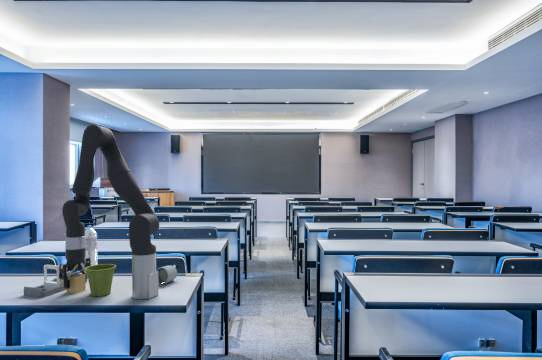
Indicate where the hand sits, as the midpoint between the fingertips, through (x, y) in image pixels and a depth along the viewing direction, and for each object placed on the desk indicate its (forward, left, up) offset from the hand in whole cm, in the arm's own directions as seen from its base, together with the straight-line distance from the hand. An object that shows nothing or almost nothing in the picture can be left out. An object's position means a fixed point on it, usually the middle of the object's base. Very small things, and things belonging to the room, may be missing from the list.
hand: (75, 285), depth 156 cm
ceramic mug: (-27, -24, -3) cm, 36 cm away
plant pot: (-12, -1, -3) cm, 13 cm away
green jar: (+10, -1, -2) cm, 10 cm away
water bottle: (+14, -22, -3) cm, 26 cm away
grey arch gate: (+10, +2, -2) cm, 11 cm away
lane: (+10, +3, -3) cm, 11 cm away
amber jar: (0, 0, -3) cm, 3 cm away
